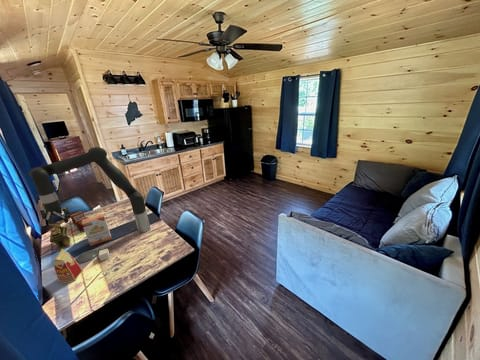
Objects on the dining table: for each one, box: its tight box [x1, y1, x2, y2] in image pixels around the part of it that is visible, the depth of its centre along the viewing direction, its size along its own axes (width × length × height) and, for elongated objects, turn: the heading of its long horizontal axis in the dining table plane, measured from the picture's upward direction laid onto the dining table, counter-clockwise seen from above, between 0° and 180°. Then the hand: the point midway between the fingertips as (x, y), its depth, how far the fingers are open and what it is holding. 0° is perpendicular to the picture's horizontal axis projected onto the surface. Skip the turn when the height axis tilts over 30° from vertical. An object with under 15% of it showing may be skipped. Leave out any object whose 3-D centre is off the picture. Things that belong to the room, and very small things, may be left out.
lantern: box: [69, 211, 89, 232], centre depth 177 cm, size 10×9×30 cm
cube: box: [98, 248, 111, 262], centre depth 139 cm, size 5×5×5 cm
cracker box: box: [82, 213, 112, 247], centre depth 153 cm, size 14×6×21 cm, turn 125°
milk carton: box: [52, 248, 84, 284], centre depth 121 cm, size 9×9×20 cm
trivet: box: [76, 249, 99, 264], centre depth 141 cm, size 12×12×1 cm
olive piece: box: [47, 221, 71, 251], centre depth 150 cm, size 20×10×20 cm, turn 37°
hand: (59, 223), depth 127 cm, fingers open, 8 cm apart
